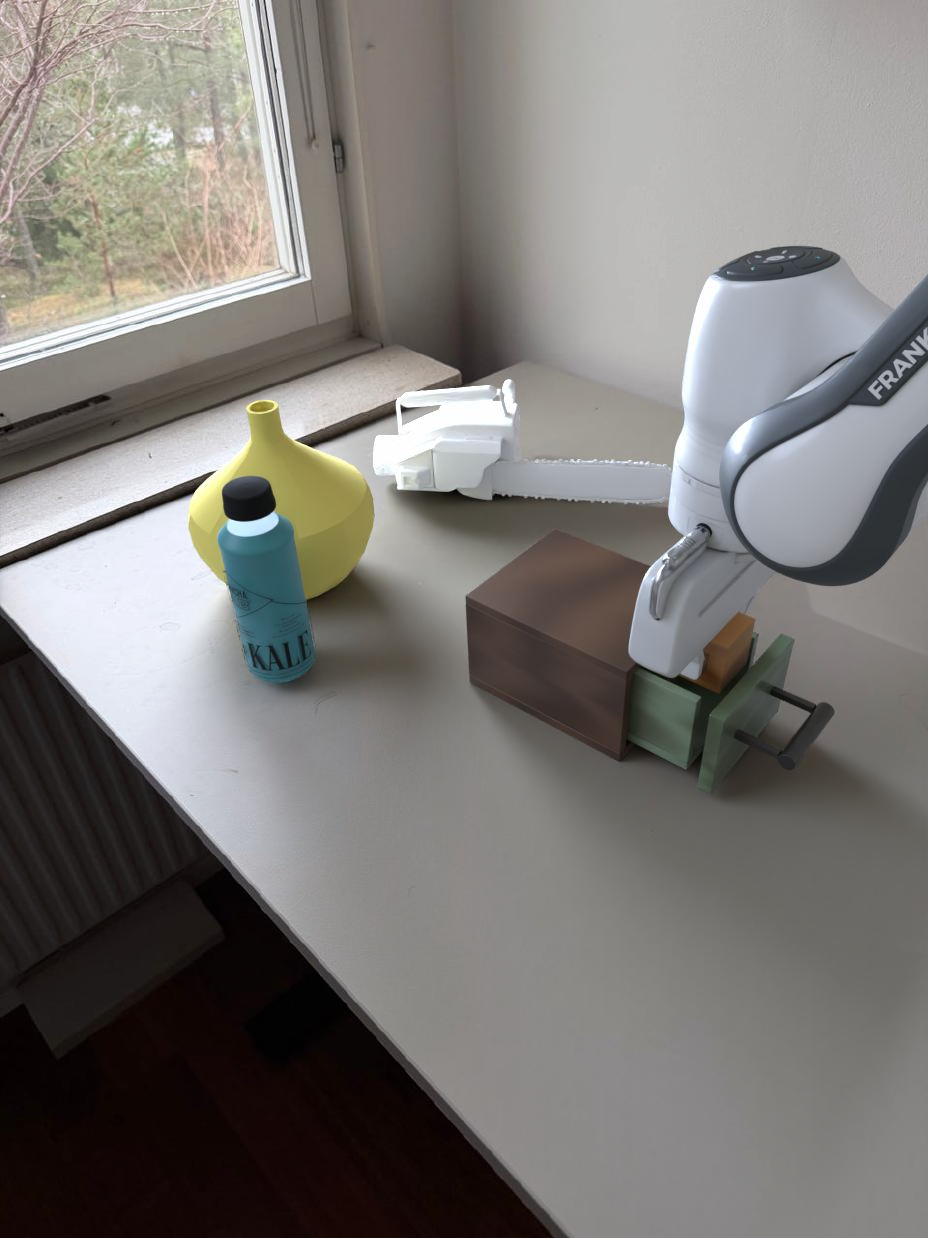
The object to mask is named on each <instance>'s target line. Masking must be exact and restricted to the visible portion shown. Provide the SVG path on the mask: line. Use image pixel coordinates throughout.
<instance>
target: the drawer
mask: <svg viewBox="0 0 928 1238" xmlns="http://www.w3.org/2000/svg"><path fill="white" fill-rule="evenodd" d="M758 640H759V633H757V632H755V631H753V634H752V639H751V644H750V649H749V654H748V659H747V663H746V665H745V666H744V667H743V668H742V669H741V670H740V671H739V672H738V674H737V675H736V676H735V677H734V678H733V679H732V680H731V682H730V683H729V684H728V685H727V686H726V687H725V688H724V689H723V691H722V692H721V693H720V694H718V693H716V692H713V691H711V690H709V689H707V688H705V687H702V686H700V685H698V684H696V683H694V682H692V681H689V680H687V679H685V678H683V677H681V676H679V675H678V676H676V677H674V678H669V677H666V676H663V675H661V674H658V673H656V672H654V671H651V670H649V669H647V668H645V667H643V666H642V665H641V666H640V667H639V668H638V669H637V670H636V671H635V672H634V673H633V674H632V685H631V696H630V706H629V717H628V727H627V737H626V739H627V740H629V741H631V742H633V743H635V745H637V746H638V747H641V748H643V749H645V750H647V751H649V752H650V753H652V754H654V755H656V756H658V757H660V758H662V759H664V760H666V761H668V762H670V763H672V764H674V765H675V766H678V767H680V768H681V769H684V770H686V771H687V770H688V769H689V767H690V766H691V765H692V764H693V763H694V762H695V760H696V759H697V758H698V757H699V756H700V755H701V753H702V756H701V757H702V758H701V763H700V764H701V765H700V768H699V769H700V770H699V775H698V780H697V786H696V787H697V789H699V790H701V791H702V792H705V793H707V794H708V795H712V794H713V793H714V792H715V790H716V789H717V787H718V786H719V785H720V783H721V782H722V781H723V780H724V779H725V778H726V777H727V775H728V774H729V773H730V772H731V770H732V769H733V768H734V766H735V765H736V764H737V762H738V761H739V760H740V759H741V758H742V757H743V755H744V754H745V752H746V751H747V750H748V749H749V748H750V747H751V748H753V749H755V750H757V751H759V752H761V753H763V754H765V755H767V756H770V757H772V758H774V759H776V762H777V764H778V766H779V767H781V769H784V770H786V771H793V770H794V769H796V767H797V766H798V764H799V763H800V762H801V761H802V759H803V758H804V756H805V755H806V754H807V752H808V751H809V749H810V748H811V747H812V745H813V744H814V743H815V741H816V740H817V739H818V737H819V736H820V735H821V733H822V732H823V731H824V729H825V728H826V726H827V725H828V724H829V722H830V721H831V720H832V718H833V717H834V715H835V714H836V713H835V712H836V711H835V708H834V706H832V705H831V704H830V703H828V702H826V701H821V702H819V703H817V704H816V703H814V702H811V701H810V700H807V699H805V698H803V697H801V696H798V695H796V694H794V693H791V692H790V691H787V690H784V687H785V682H786V677H787V673H788V669H789V665H790V661H791V656H792V651H793V648H794V644H795V638H793V637H791V636H789V635H786V634H783V633H780V634H779V635H778V636H777V637H776V638H775V639H774V640H773V642H771V644H770V645H769V646H768V647H767V649H765V651H763V653H762V654H761V655H760V656H759V657H758V659H757V660H756V661H755V662H754V659H755V654H756V649H757V646H758V645H757V644H758ZM781 701H782V702H784V703H787V704H790V705H792V706H794V707H796V708H799V709H801V710H803V711H805V712H807V713H809V715H808V716H807V717H806V719H805V720H804V721H803V722H802V724H801V725H800V727H799V728H797V731H796V732H795V733H794V735H793V736H792V737H791V739H790V740H789V741H788V743H786V745H785V747H784V748H783V749H782V748H780V747H778V746H776V745H773V744H772V743H769V742H768V741H765V740H763V739H762V738H759V737H758V736H759V735H760V734H761V733H762V731H764V729H765V728H766V726H767V725H768V724H769V723H770V721H771V720H772V719H773V718H774V716H775V715H776V714H777V713H778V712H779V708H780V703H781Z"/></svg>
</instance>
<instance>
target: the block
mask: <svg viewBox="0 0 928 1238" xmlns="http://www.w3.org/2000/svg"><path fill="white" fill-rule="evenodd" d="M755 623H756V618H755V617H752V616H750V615H748V614H747V615H745V614H742V613H740V612H738V613H737V614H736V615H735V616H734V617H733V618H732V619H731V620H730V621H729V622H728V623H727V624H726V625H725V626H724V627H723V629H722V630H721V631H720V632H719V633H718V634H717V635H716V636H715V637H714V638H713V639H712V640H711V641H710V642H709V643H708V644H707V645H706V646H705V647H704V648H703V651H704V652H706V653H708V654H709V659H708V663H707V664H708V665H707V669H706V670H705V671H704V672H703V673H702V674H701V675H700V676H699V678H698V679H696V680H693V679H690V678H688V677H686V676H684V675H682V674H679V676H681V677H683V678H685V679H687V680H689V681H692V682H694V683H696V684H698V685H700V686H702V687H705V688H707V689H709V690H711V691H713V692H716V693H718V694H720V693H721V692H722V691H723V689H724V688H725V687H726V686H727V685H728V684H729V683H730V682H731V680H732V679H733V678H734V677H735V676H736V675H737V674H738V672H739V671H740V670H741V669H742V668H743V667H744V666H745V665H746V663H747V659H748V654H749V649H750V644H751V639H752V634H753V632H754V629H755Z"/></svg>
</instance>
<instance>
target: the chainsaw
mask: <svg viewBox="0 0 928 1238" xmlns="http://www.w3.org/2000/svg"><path fill="white" fill-rule="evenodd" d="M497 396H498V398H499V400H494V399H495V398H496V397H497ZM401 406H402V407H404V408H417V407H428V406H429V407H431V406H440V407H439V409H438V410H435V411H433V412H431V413H428V414H425V415H423V416H422V417H419V418H417V419H415V420H412V421H410V422H409V423H406V424H404V425H403V423H402V412H401V411H402V410H401ZM395 412H396V421H397V430H398V435H381V434H379V435H377V436H376V437H375V440H374V444H373V450H372V463H373V470H374V474H375V475H376V476H384V477H385V476H395V481H396V483H397V486H396V490H398V491H422V492H423V491H424V492H447V493H450V492H452V491H454V490H457V491H458V493H460V494H462V495H463V496H465V497H469V498H472V499H477V500H478V499H479V500H485V501H493V496H495V494H497V495H501V496H502V497H505V496H506V495H507V497H512V496H515V497H516V496H519V497H523V498H524V499H528V497H530V498H534V499H536V500H537V499H539V498H540V499H541V500H546V499H556V501H561V500H567V501H568V502H572V500H574V502H579V501H587V502H589V501H590V503H593V504H594V503H595V501H596V502H601V503H602V504H605V503H606V502H608V503H607V504H613V503H623V504H624V505H628V504H629V503H631V504H635V505H640V503H642V505H647V504H651V503H659V504H663V503H664V501H667V500H669V498H670V489H671V480H672V472H673V468H671V467H668V464H667V463H663V464H660V463H658V464H657V463H653V462H652V463H651V461H648V460H647V461H646V462H644V461H643V460H639V461H634V462H633V460H632V459H628V461H619V460H617V461H616V459H611V461H609V459H605V460H599V461H598V459H597V458H594V459H592V460H581V458H577V459H576V460H574V458H570V460H568V459H567V460H566V459H565V460H563V458H558V460H557V459H554V460H551V459H547V458H542V460H540V458H535V459H531V460H529V458H524V459H523V460H522V459H521V460H520V422H521V412H520V406H519V404H518V403H516V384H515V381H514V380H513V379H506V380H505V381H504V383H503V385H502V389H501V388H496V387H495V386H493V385H491V384H490V385H488V384H487V385H478V386H474V385H471V386H465V387H456V388H455V387H453V388H442V389H431V390H419V391H408V392H407V391H406V392H405V393H404V394H403V395H402V396H401V397H398V398H397V400H396V401H395Z"/></svg>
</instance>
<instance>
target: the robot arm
mask: <svg viewBox="0 0 928 1238" xmlns="http://www.w3.org/2000/svg"><path fill="white" fill-rule="evenodd" d="M689 332H690V333H689V338H688V343H687V349H686V354H685V360H684V366H683V367H684V369H683V374H682V376H683V377H682V383H681V401H682V405H683V410H684V421H683V426H682V429H681V431H680V434H679V436H678V438H677V440H676V443H675V448H674V454H673V462H672V464H673V465H672V469H673V472H672V480H671V489H670V498H669V499H668V508H667V515H668V518H669V521H670V523H671V525H672V526H673V528H674V529H675V530H676V531H677V532H678V533H679V534H680V535H682V538H680V540H678V541H677V542H676V543H675V544H674V545H673V546H672V547H670V549H668V550H667V551H666V552H664V554H662V555H661V556H660V557H659V558H658V559H657V560H656V561H654V562H653V564H652V565H650V566H651V567H650V569H649V570H648V572H647V573H646V575H645V577H644V579H643V581H642V584H641V587H640V590H639V593H638V597H637V601H636V606H635V611H634V616H633V622H632V628H631V634H630V640H629V655H630V657H631V658H632V659H633V660H634V661H635V662H636V663H638V664H640V665H642V666H643V667H645V668H647V669H649V670H651V671H654V672H656V673H658V674H661V675H663V676H666V677H669V678H674V677H676V676H678V675H679V674H682V675H684V676H686V677H688V678H690V679H693V680H696V679H698V678H699V676H700V675H701V674H702V673H703V672H704V671H705V670H706V669H707V665H708V664H707V663H708V659H709V654H708V653H706V652H704V651H703V648H704V647H705V646H706V645H707V644H708V643H709V642H710V641H711V640H712V639H713V638H714V637H715V636H716V635H717V634H718V633H719V632H720V631H721V630H722V629H723V627H724V626H725V625H726V624H727V623H728V622H729V621H730V620H731V619H732V618H733V617H734V616H735V615H736V614H737V613H738V612H740V613H742V614H745V615H747V616H748V613H749V611H750V609H751V607H752V605H753V604H754V601H755V598H756V597H757V594H758V593H759V591H760V590H761V589H762V588H763V587H764V586H765V584H766V583H768V581H769V580H770V579H772V577H773V576H774V575H775V574H776V573H777V574H780V575H782V576H785V577H786V578H789V579H792V580H795V581H799V582H802V583H806V584H810V585H815V586H820V587H843V586H849V585H853V584H857V583H859V582H861V581H865V580H866V579H868V578H870V577H872V576H873V575H874V574H876V573H877V572H878V571H879V570H881V569H882V568H883V567H884V566H885V565H886V563H888V561H889V560H890V559H891V558H892V557H893V555H894V554H895V553H896V551H897V550H898V549H899V548H900V547H901V545H902V544H903V543H904V541H905V540H906V539H907V537H908V536H909V534H910V533H911V532H912V531H913V530H914V528H916V526H917V525H918V524H920V522H922V520H924V518H925V517H926V516H927V515H928V273H927V274H926V275H925V277H924V278H923V279H922V280H921V281H919V283H918V284H917V285H916V286H915V287H914V288H913V289H912V291H911V292H910V293H909V294H907V296H906V297H905V298H904V299H903V301H902V302H901V303H900V304H899V305H898V306H897V307H896V308H894V307H892V306H890V305H889V304H887V303H886V302H884V300H881V299H880V298H879V297H878V296H877V295H875V294H874V293H872V292H871V291H870V290H869V289H868V288H867V287H865V285H864V284H863V283H861V281H860V280H859V279H858V278H857V277H856V275H855V273H854V272H853V270H852V268H851V267H850V265H849V263H848V262H847V260H845V258H844V257H842V256H841V255H840V254H839V253H837V252H835V251H832V250H830V249H829V250H828V249H825V248H823V247H819V246H810V245H785V246H775V247H769V248H767V249H762V250H755V251H751V252H747V253H745V254H744V255H741V256H738V257H737V258H734V259H732V260H730V261H729V262H727V263H725V264H723V265H722V266H720V267H719V268H717V269H715V271H714V272H713V273H712V274H710V276H708V278H707V279H706V281H705V283H704V285H703V287H702V289H701V292H700V294H699V298H698V300H697V304H696V307H695V311H694V315H693V319H692V323H691V326H690V331H689Z"/></svg>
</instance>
